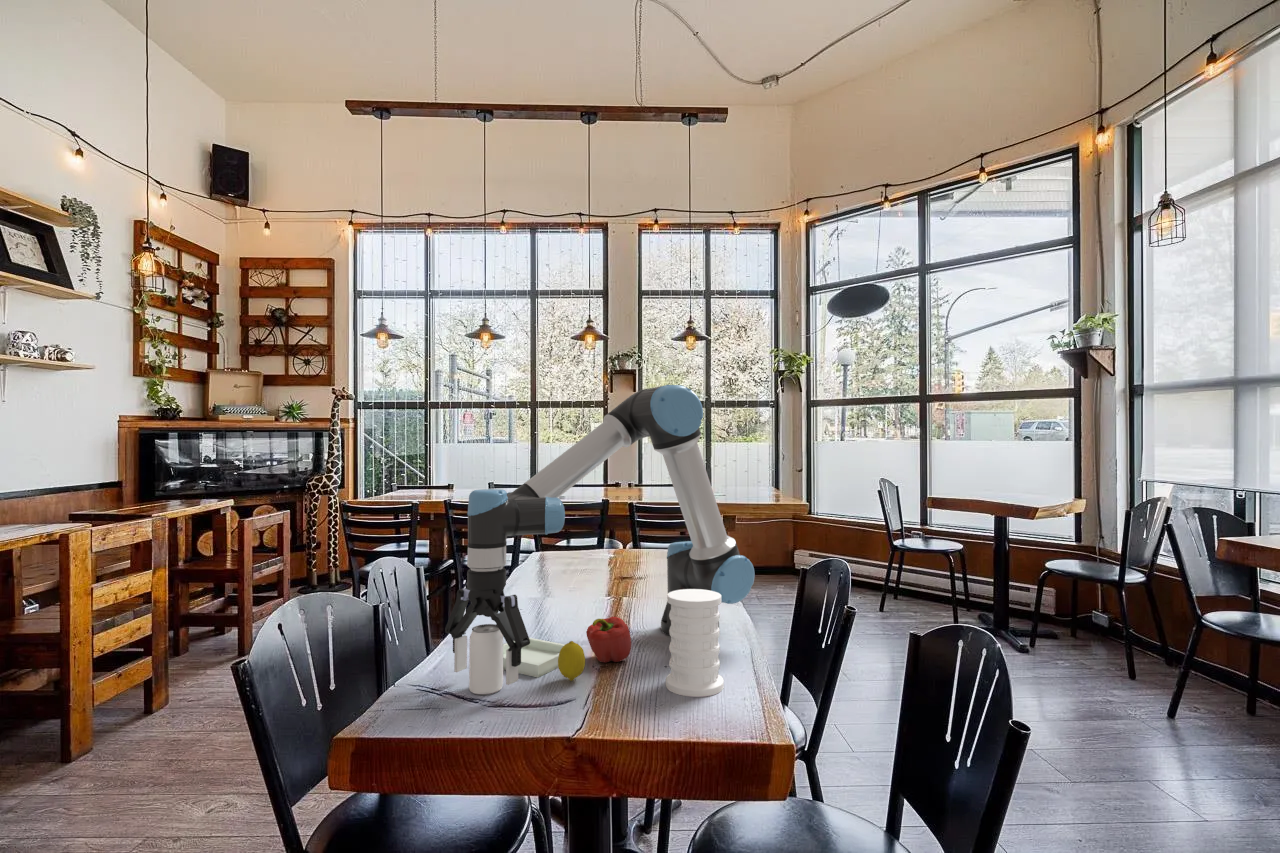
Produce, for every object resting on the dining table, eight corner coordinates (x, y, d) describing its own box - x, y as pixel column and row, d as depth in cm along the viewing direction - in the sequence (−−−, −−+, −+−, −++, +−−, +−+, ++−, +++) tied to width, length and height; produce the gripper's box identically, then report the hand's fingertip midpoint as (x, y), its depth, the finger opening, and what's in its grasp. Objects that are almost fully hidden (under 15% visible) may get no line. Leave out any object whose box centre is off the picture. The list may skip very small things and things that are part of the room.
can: (505, 683, 128) (505, 623, 128) (499, 695, 121) (499, 632, 122) (473, 683, 127) (473, 623, 128) (465, 696, 121) (466, 632, 121)
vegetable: (610, 672, 133) (610, 625, 134) (574, 662, 140) (574, 617, 140) (641, 658, 142) (641, 614, 142) (606, 649, 148) (606, 607, 149)
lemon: (555, 677, 130) (555, 638, 131) (581, 674, 132) (581, 636, 133) (561, 687, 125) (561, 646, 125) (588, 683, 127) (588, 643, 127)
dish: (577, 657, 143) (577, 646, 143) (538, 677, 130) (538, 665, 131) (522, 646, 151) (522, 636, 151) (480, 664, 138) (480, 653, 138)
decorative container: (720, 675, 132) (720, 588, 132) (726, 697, 120) (726, 602, 121) (665, 674, 132) (665, 588, 133) (666, 696, 120) (665, 601, 121)
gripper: (548, 570, 122) (547, 681, 121) (455, 559, 134) (454, 659, 134) (523, 577, 116) (522, 694, 115) (427, 564, 128) (426, 670, 127)
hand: (485, 676), depth 124 cm, fingers open, 13 cm apart
